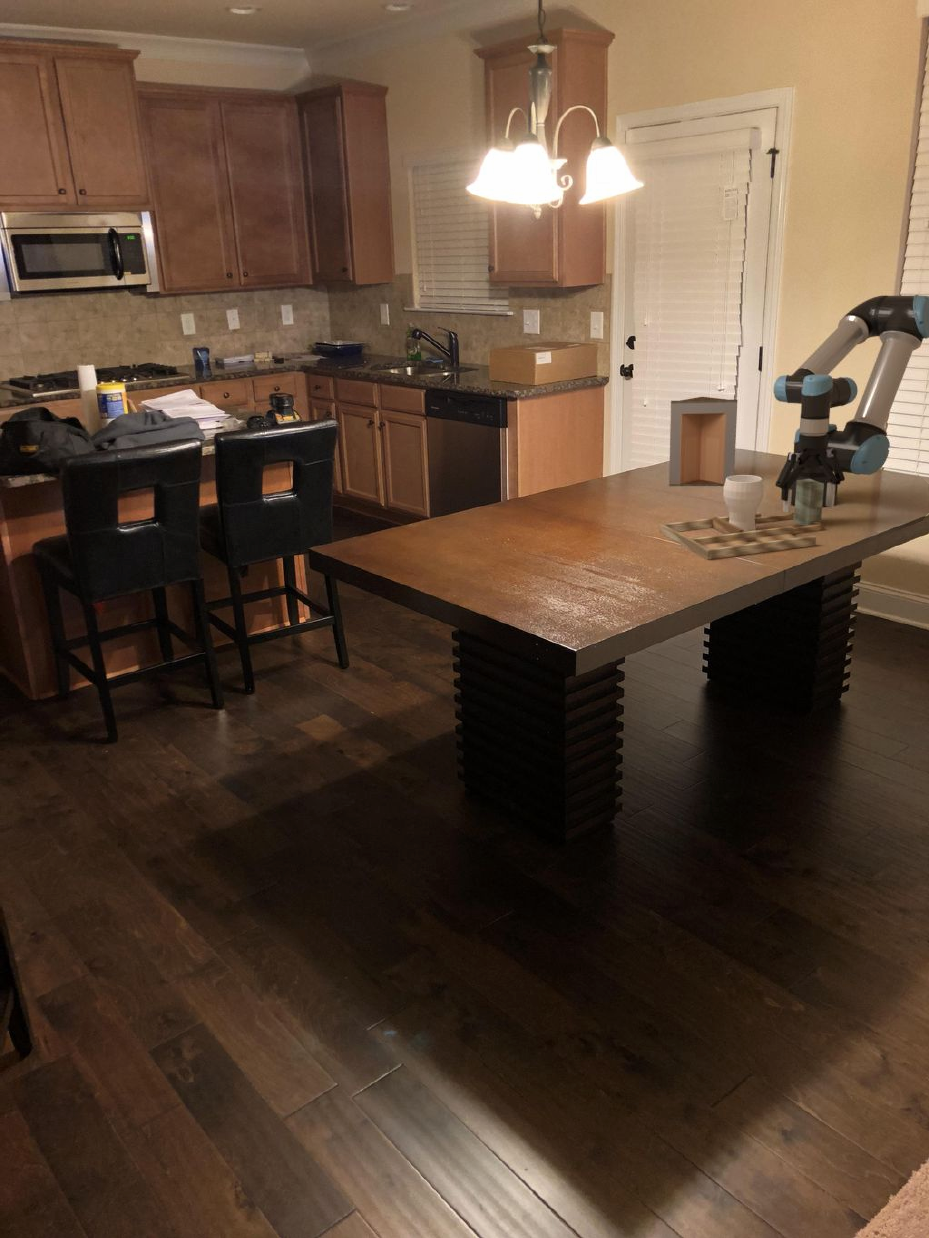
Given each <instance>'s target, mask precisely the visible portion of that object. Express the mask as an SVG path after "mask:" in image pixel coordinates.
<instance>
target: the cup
mask: <svg viewBox="0 0 929 1238" xmlns="http://www.w3.org/2000/svg"><path fill="white" fill-rule="evenodd" d="M764 488H765V487H764V482H763V478H762V477H760V476H758V475H750V474H736V475H735V474H734V476H729V477H727V478H726V481H725V484H724V486H723V493H722V494H723V499H724V503H725V504H726V505H725V506H726V508H727V509H728V516H729V518H730V519H729V523H731V524H733V525H735V526H737V527H739V528H741V529H743V532H749V531H757V530H756V524H755V515H756V513H757V510H758V508H759V507H760V505H761V504H762V501H763V497H764V492H765V491H764V490H765V489H764Z"/></svg>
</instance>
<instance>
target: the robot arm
mask: <svg viewBox="0 0 929 1238" xmlns="http://www.w3.org/2000/svg"><path fill="white" fill-rule="evenodd" d="M837 325H838V326H837V328H836V329H835V330H834V331H833V332H832V333H831V334H830V335H829V336H828V337H827V338H826V339H825V340H824V341H823V343H821V344H820V346H819V347H817V348H816V350H815V351H814V352H812V354H810V356H809V357H808V358H806V360H805V361H803V363H801V365H800V366H799V367H798V368H797V369H796V370H795V371H794V372H793V373H792V374H791V375H789V374H786V375H780V376H778V377H777V378H776V380H775V382H774V385H773V395H774V398H775V399H776V401H778V402H780V403H781V402H782V403H787V404H801V406H800V407H801V408H800V419H799V420H800V422H799V428H798V429H797V430H796V431H795V434H794V441H793V452H788V453H787V458H786V461H785V464H783V467H782V470H781V471H780V474H779V476H778V478H777V479H776V482H775V483H774V484H775V487H776V488H779V489H781V494H780V495H781V496H780V499H781V501H782V502H783V503H782V512H784V513H786V514H789V513H792V512H791V511H792V505H793V506H795V498H796V483H797V480H803V479H812V480H815V481H817V482H820V483H823V484H824V490H823V502H822V508H823V507H829V508H834V506H835V504H837V502H838V486H839V485H840V484H841V482H845V479H846V477H845V475H844V473H848V474H854V475H864V476H865V475H866V476H870V475H873V474H875V473H877V472H878V471H880V470H881V469H882V467H883V466H884V465H885V463H886V461H887V460H888V459H887V458H888V457H889V454H890V447H891V445H890V444H891V442H890V440H889V438H888V437H887V435H888V432H887V430H886V428H885V425H886V423H887V420H888V417H889V414H890V412H891V409H892V407H893V404H894V401H895V399H896V397H897V396H896V395H897V393H898V390H899V389H900V385H901V384H902V383H901V382H902V381H903V377H904V376H905V373H906V369H907V367H908V364H909V362H910V359H911V357H912V354H913V352H914V351H915V350H918V349H919V348H921V346H922V343H923V340H924V339H929V295H919V294H915V295H879V296H878V295H877V296H874V297H871V298H869V299H867V300H865V301H863V302H861V303H859V304H858V305H856V306H854V307H853V308H852V309H850V310H849V311H848V312H847V313H846V314H844V316H843V317H842V318H841V319H840V320H839V322H838V324H837ZM874 337H875V338H876V337H879V338H878V339H879V340H880V342H881V346H880V349H879V351H878V355H877V357H876V359H875V361H874V364H873V367H872V370H871V372H870V375H869V378H868V381H867V383H866V385H865V389H864V391H863V393H862V395H861V399H860V401H859V404H858V407H857V409H856V412H855V414H854V417H853V419H850V420H848V421H847V422H846V423H845V425H844V428H843V430H838V427H837V424H835V423H830V415H831V409H832V408H833V409H834V408H838V407H844V406H846V405H848V404H850V403H852V402H854V401H855V400H856V398H857V395H858V385H857V383H856V381H855V380H854V379H853V378H851V377H846V376H845V377H843V376H842V377H841V376H839V377H838V378H833V376H832V375H830V374H831V372H832V371H834V369H835V368H837V366H838V365H839V364H840V363H841V362H842V361H843V360H844V359H845V358H846V357H847V356H848V355H849V354H850V353H851V352H852V351H853V350H854V349H855V347H857V345H861V344H863V343H865V342H866V341H867V340H868V339H870V338H874Z"/></svg>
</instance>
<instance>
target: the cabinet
mask: <svg viewBox="0 0 929 1238" xmlns="http://www.w3.org/2000/svg"><path fill="white" fill-rule="evenodd" d="M737 420H738V399H737V398H735V399H728V398H727V399H726V398H717V397H709V396H708V397H707V396H698V397H692V398H687V399H681V400H670V428H669V429H670V430H669V432H670V433H669V434H670V436H669V473H668V481H669V482H668V486H669V487H724V484H725V481H726V478H727V477H729V476H735V463H736V440H737V439H736V438H737Z"/></svg>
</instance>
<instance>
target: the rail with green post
mask: <svg viewBox="0 0 929 1238" xmlns="http://www.w3.org/2000/svg"><path fill="white" fill-rule="evenodd" d="M823 490H824V484H823V483H820V482H817V481H815V480H812V479H803V480H797V483H796V498H795V505H794V511H793V512H790V513H783V514H775V515H774V514H773V515H767V516H761V517H757V518H755V525H756V524H765V523H772V522H780V521H788V520H793V522H794V523H795V524H799V525H800V526H795V527H794V526H793V527H794V530H793V535H794V534H802V533H803V534H804V533H810V532H819V531H825V528H826V527H825V526H826V525H825V524H823V523H822V513H823V507H822V502H823ZM712 518H713V527H711V528H713V529H715V530H716V531H719V532H721V533H723V535H725V534H733V533H741V532H743V529H741V528H739V527H737V526H735V525H733V524H731V523H729V521H724V520H722V519H720V518H718V517H717V516H713V517H712Z"/></svg>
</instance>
